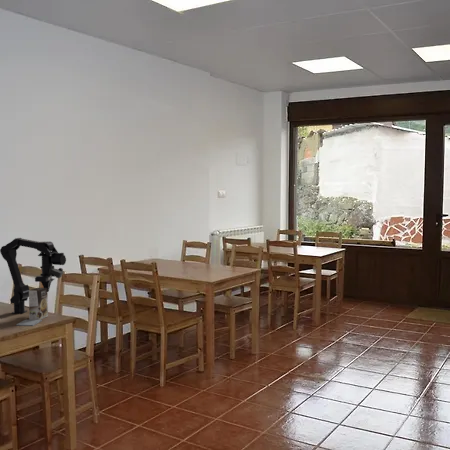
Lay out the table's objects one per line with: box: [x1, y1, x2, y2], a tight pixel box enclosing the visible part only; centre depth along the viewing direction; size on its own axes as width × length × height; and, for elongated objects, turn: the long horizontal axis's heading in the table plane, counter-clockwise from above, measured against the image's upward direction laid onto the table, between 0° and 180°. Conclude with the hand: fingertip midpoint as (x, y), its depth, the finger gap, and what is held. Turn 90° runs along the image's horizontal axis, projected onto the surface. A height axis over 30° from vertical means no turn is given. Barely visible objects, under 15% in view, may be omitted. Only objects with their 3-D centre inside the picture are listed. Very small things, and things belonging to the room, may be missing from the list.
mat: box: [15, 319, 43, 327], centre depth 283 cm, size 11×9×1 cm
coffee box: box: [28, 287, 49, 320], centre depth 294 cm, size 9×6×16 cm
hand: (47, 291), depth 303 cm, fingers closed
